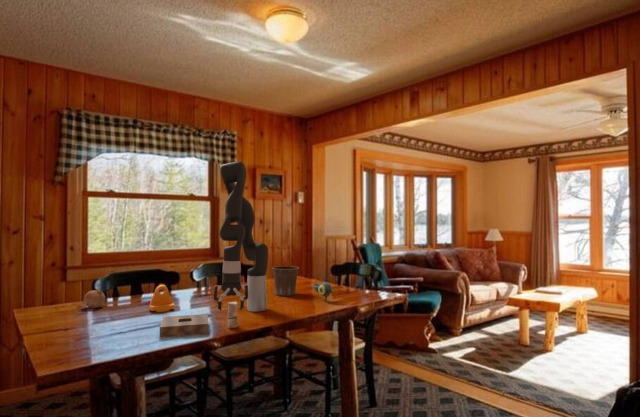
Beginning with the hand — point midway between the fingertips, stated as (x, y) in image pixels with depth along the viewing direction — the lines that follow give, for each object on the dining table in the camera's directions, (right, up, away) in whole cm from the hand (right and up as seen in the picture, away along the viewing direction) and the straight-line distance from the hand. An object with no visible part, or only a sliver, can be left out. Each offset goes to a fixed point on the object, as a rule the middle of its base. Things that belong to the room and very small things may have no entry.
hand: (230, 309), depth 167 cm
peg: (+1, -7, 0) cm, 7 cm away
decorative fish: (+39, -9, +51) cm, 65 cm away
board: (-17, -7, -6) cm, 20 cm away
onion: (-76, -7, +32) cm, 83 cm away
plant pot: (+17, -9, +69) cm, 72 cm away
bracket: (-40, -8, +28) cm, 50 cm away
